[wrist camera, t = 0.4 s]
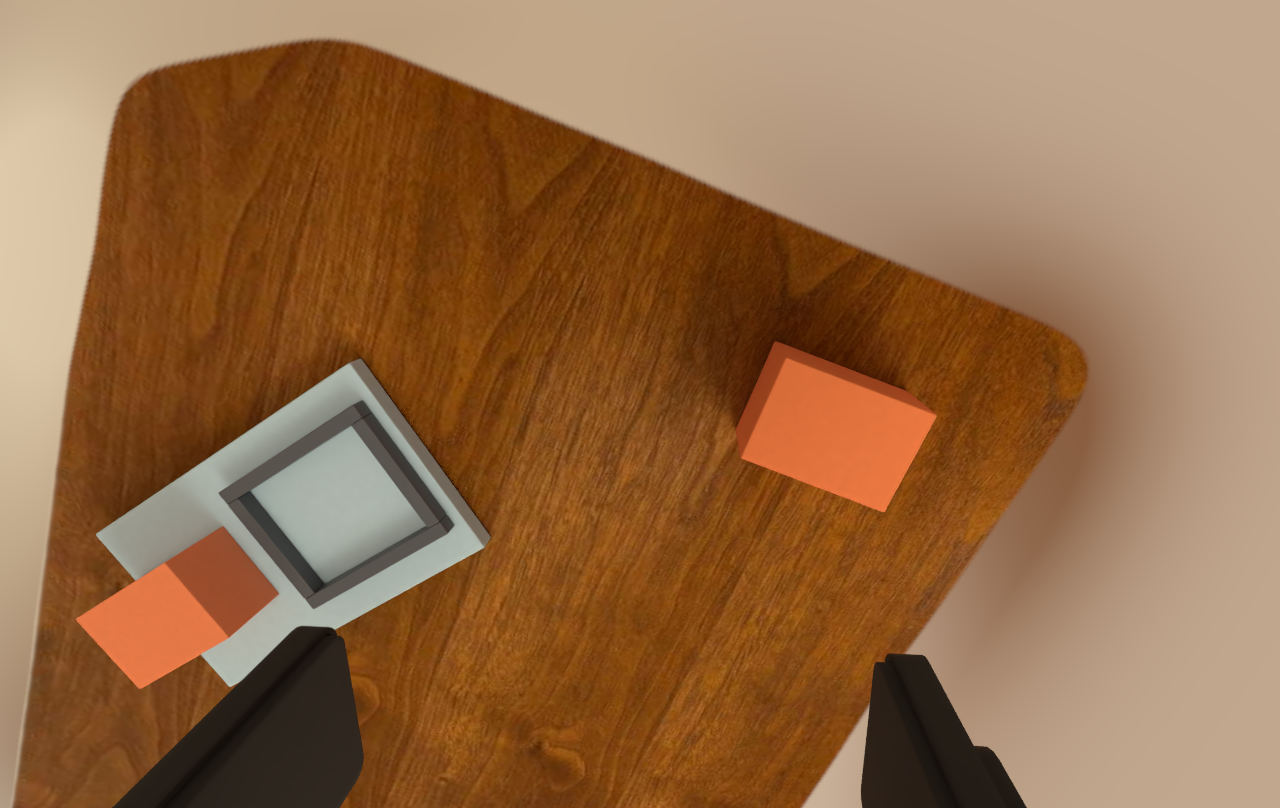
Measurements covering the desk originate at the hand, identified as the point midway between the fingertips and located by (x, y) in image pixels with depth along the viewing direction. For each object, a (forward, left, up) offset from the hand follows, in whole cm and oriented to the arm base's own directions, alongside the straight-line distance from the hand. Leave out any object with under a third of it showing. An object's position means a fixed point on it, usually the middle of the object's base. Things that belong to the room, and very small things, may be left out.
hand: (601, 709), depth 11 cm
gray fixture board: (-4, -23, -22) cm, 32 cm away
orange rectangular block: (+5, +6, -22) cm, 23 cm away
